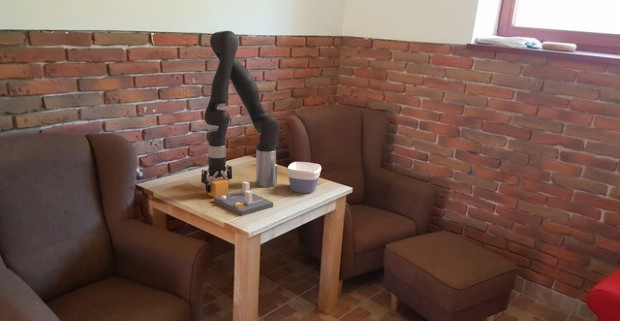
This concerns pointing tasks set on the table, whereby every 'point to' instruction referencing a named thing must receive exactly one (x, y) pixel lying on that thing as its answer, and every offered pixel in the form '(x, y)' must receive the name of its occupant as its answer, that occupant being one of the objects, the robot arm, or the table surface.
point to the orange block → (218, 187)
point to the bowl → (303, 176)
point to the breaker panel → (236, 203)
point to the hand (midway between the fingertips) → (216, 190)
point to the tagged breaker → (248, 198)
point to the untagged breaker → (245, 187)
